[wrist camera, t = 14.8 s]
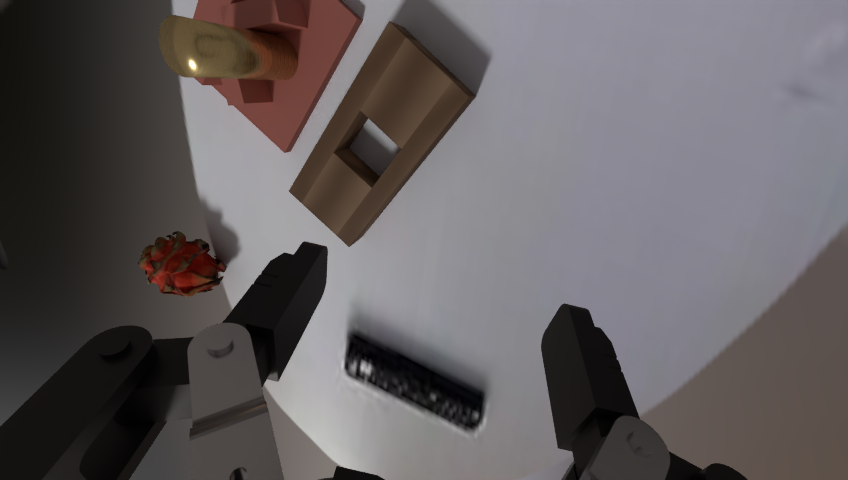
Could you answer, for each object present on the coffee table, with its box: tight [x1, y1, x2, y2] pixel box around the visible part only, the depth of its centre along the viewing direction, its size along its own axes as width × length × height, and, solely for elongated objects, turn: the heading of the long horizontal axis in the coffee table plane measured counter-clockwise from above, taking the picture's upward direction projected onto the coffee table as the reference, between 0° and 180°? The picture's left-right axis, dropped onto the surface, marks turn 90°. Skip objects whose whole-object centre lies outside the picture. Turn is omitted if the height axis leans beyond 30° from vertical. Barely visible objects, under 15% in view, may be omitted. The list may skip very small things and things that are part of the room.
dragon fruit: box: [138, 231, 226, 296], centre depth 49 cm, size 8×8×12 cm
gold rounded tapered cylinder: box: [159, 15, 298, 81], centre depth 31 cm, size 4×4×11 cm
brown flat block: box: [289, 21, 476, 247], centre depth 35 cm, size 9×20×3 cm, turn 141°
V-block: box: [193, 0, 363, 153], centre depth 34 cm, size 12×16×5 cm
